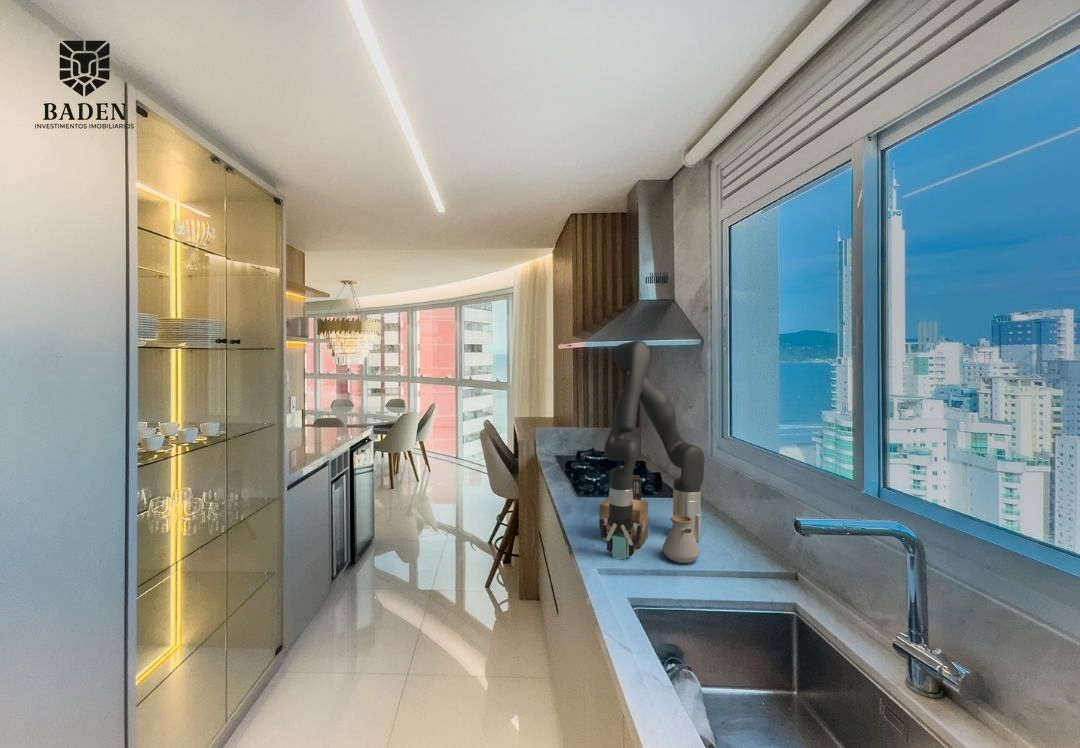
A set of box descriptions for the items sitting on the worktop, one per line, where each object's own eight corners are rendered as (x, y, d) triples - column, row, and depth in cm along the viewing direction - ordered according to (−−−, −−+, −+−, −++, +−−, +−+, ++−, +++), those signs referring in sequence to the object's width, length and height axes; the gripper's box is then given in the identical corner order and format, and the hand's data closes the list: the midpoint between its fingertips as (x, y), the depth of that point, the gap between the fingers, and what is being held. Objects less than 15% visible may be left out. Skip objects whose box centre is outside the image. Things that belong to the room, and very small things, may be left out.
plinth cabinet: (647, 537, 160) (647, 501, 159) (639, 549, 150) (639, 510, 150) (609, 530, 166) (609, 495, 166) (599, 541, 156) (599, 504, 156)
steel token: (619, 538, 159) (619, 532, 159) (614, 544, 155) (614, 537, 155) (605, 536, 162) (605, 529, 162) (600, 541, 157) (601, 534, 157)
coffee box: (639, 514, 184) (639, 474, 183) (641, 519, 178) (641, 479, 177) (616, 513, 185) (616, 474, 184) (617, 519, 179) (618, 478, 178)
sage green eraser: (638, 541, 157) (638, 521, 156) (624, 560, 142) (625, 538, 142) (627, 539, 159) (627, 519, 158) (612, 557, 144) (612, 536, 144)
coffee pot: (660, 549, 150) (660, 505, 150) (696, 552, 148) (697, 506, 148) (668, 581, 129) (669, 529, 129) (711, 584, 127) (712, 531, 127)
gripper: (646, 501, 144) (645, 553, 145) (603, 495, 151) (602, 544, 151) (640, 508, 138) (639, 562, 138) (595, 501, 144) (595, 553, 145)
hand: (620, 553), depth 145 cm, fingers open, 6 cm apart
